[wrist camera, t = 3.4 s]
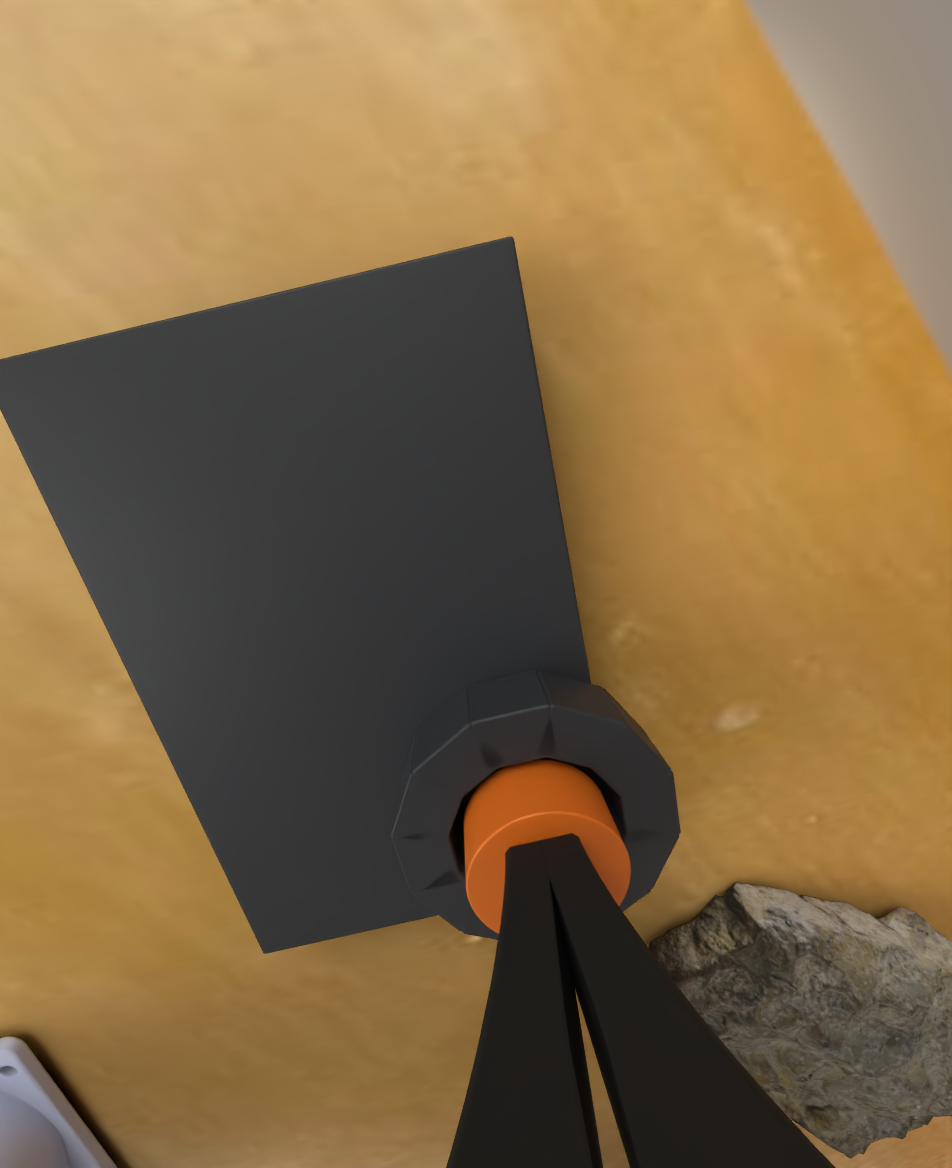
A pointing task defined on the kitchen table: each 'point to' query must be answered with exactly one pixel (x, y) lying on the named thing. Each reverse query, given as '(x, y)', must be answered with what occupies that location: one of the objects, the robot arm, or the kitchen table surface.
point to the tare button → (536, 828)
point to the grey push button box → (338, 580)
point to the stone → (824, 1008)
